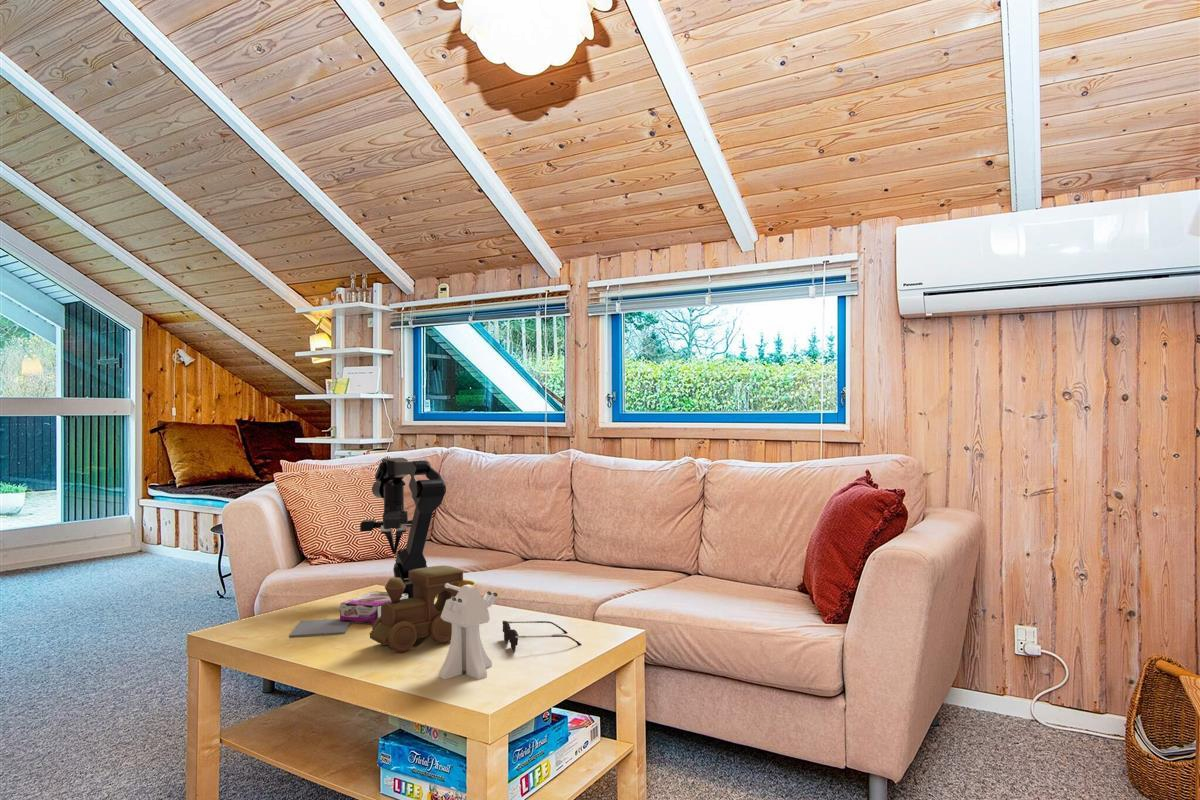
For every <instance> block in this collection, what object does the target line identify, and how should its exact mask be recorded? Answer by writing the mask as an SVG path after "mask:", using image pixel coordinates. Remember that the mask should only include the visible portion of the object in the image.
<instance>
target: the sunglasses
mask: <svg viewBox="0 0 1200 800" xmlns="http://www.w3.org/2000/svg"><path fill="white" fill-rule="evenodd" d="M501 622H502V633H503V640H504V641H505V643H506V644H507V645H508V644H510V649H511V650H512V651H513V652H514V653H515V652H516V649H517V646H518V641H519V639H526V638H567V639H569V640H571V641H573V642H575V643H576V645H577V646H582V643H581V642H580V641H577V640H576V639H575V638H573V637H571V636H569V635H567V634H568V632H567V630H565V629H564V628H562V627H560V626H559V625H558V624H556V623H554V622H553V621H548V620H547V621H546V620H545V621H544V620H541V621H539V620H538V621H537V620H536V621H535V620H534V621H511V620H510V621H509V620H502V621H501ZM510 624H550V625H551V624H552V625H553V626H555V627H557V628H558V629H559V630H561V631H562V632H563V633H564V635H563V634H557V635H556V634H554V635H548V634H547V635H519V634H518V631H517V630H515V629H514V628H513V629H511V625H510Z"/></svg>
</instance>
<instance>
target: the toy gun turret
mask: <svg viewBox="0 0 1200 800" xmlns="http://www.w3.org/2000/svg"><path fill="white" fill-rule="evenodd" d="M445 587H446V588H451V589H454V590H457V591H459V592H458V593H457V595H456V596H455V597H451V599H448V600H446V602H445V606H444V608H443V611H442V614H441V618H442V619H443V620H444V621H446V622H449V623H452V636H451V640H450V644H449V647H448V651H447V654H446V658H445V660H444V662H443V663H442V666H441V667H440V669H439V671H438V678H440V679H442V680H446V679H451V678H454V677H457V676H460V675H465V676H466V675H467V676H470V677H472V678H474V679H477V680H481V679H485V678H488V671H487V668H490V667H493V661H492V659H491V657H490V656H489V654H488V653H487V652H486V650H485V647H484V644H483V641H482V639H481V632H480V631H481V630H480V625H482V624H487V623H489V621H490V620H491V619H492V618H491V614H490V612H489V609H488V608H490V607H492V606H493V605H494V603H495V602H496V600H497V598H498V596H499V594H498V593H497V592H496V591H493V592H492V591H490V590H487V591H486V592H485V594H484V595H483V597H482V596H481V594H480V593H479V589H478V588H477V586H476V587H475V586H473V585H469V584H468V585H463V586H462V587H456V586H453V585H450V584H449V583H446V584H445Z"/></svg>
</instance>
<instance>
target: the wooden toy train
mask: <svg viewBox="0 0 1200 800" xmlns="http://www.w3.org/2000/svg"><path fill="white" fill-rule="evenodd" d="M408 579H409V582H412V583H413V595H414V598H407V599H401V600H400V598H401V596H402V594H403V591H404V589H405V587H406V585H405V584H404V583H403V581H402V580H401V578H395V577H391V578H389V579H388V581H387V582H386V585H385V586H384V589H385V592H387V593H388V595H389V597H390V599H391V601H390V602H386V603H382V604H381V616H380V617H379V618H377V620H376V621H375V622H374V624H372V628H371V631H370V632H369V639H371V640H373V641H374V642H377V643H378V644H380V645H382V646H386V645H388V646H389V647H390V649H391V650H392V651H394V652H396V653H405V652H407V651H410V649H412V648H413V646H414V645H415V644H416V641H417V639H419V638H421V639H422V638H425V637H429V636H430V638H432V640H433V641H434V642H435V643H437V644H440V645H441V644H446V643H449V642H451V636H452V623H449V622H446V621H444V620H443V619H442V618H441V614H442V611H443V608H444V606H445V602H446V600H448V599H451V597H455V596H456V595H457V593H458V592H459V591H457V590H454V589H451V588H446V587H445V584H446V583H449V584H450V585H453V586H456V587H459V583H460V582H463V580H464V571H463V570H462V569H460V568H458V567H455V566H451V565H435V566H433V565H432V566H427V567H425V568H418V569H414V570H410V571H409V578H408ZM437 594H438V599H437V598H436V596H437ZM435 600H436V601H435Z"/></svg>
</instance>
